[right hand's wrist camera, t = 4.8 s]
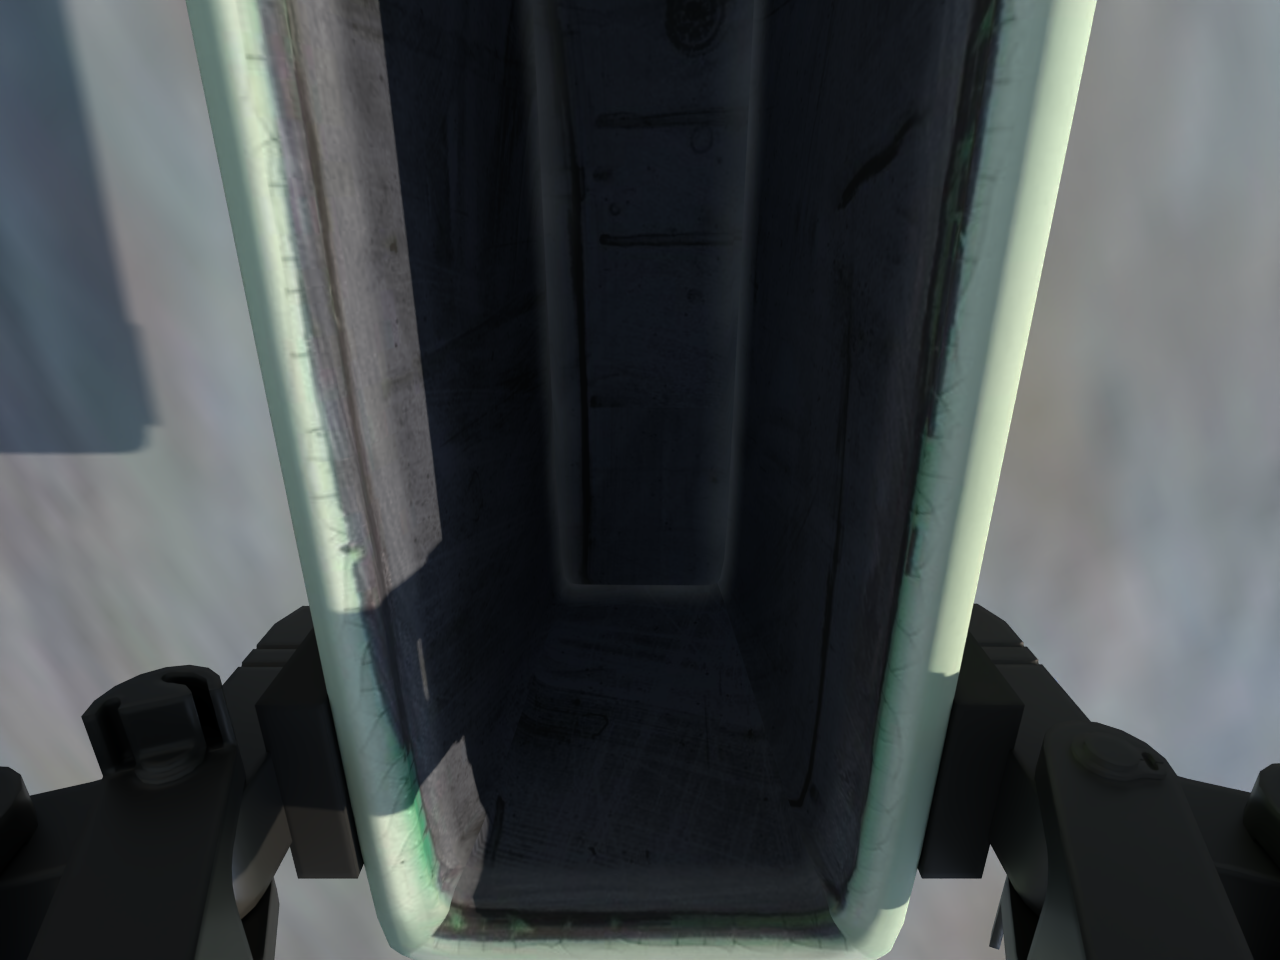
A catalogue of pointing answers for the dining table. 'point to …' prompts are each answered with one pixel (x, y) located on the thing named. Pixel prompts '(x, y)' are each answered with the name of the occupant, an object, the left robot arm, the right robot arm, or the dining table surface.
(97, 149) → the dining table surface
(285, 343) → the planter
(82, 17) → the dining table surface
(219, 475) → the dining table surface
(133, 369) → the dining table surface
